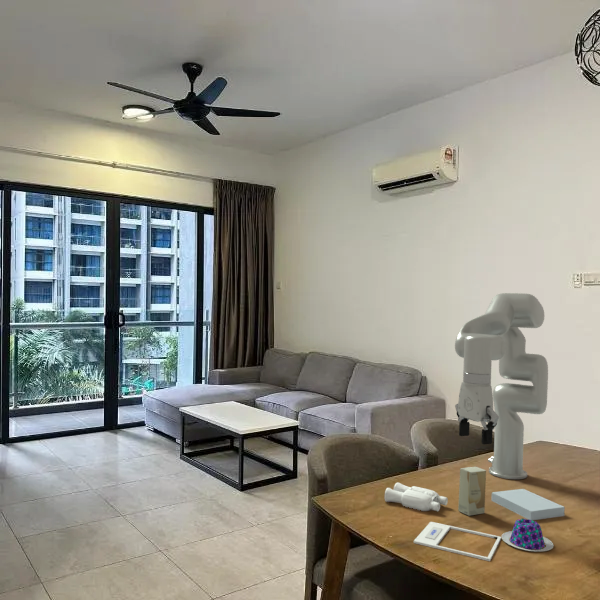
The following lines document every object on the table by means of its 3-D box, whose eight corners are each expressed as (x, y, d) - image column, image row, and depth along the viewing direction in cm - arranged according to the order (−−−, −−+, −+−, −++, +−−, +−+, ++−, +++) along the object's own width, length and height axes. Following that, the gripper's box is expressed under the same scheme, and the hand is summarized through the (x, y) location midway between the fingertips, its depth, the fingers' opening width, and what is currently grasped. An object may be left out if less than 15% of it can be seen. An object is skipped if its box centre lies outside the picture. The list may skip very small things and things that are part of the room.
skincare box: (468, 516, 157) (470, 472, 157) (457, 511, 160) (458, 468, 161) (485, 513, 160) (487, 469, 160) (474, 508, 163) (475, 465, 164)
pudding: (514, 530, 149) (515, 510, 149) (561, 545, 140) (562, 523, 140) (492, 542, 141) (493, 521, 141) (540, 559, 132) (541, 536, 132)
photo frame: (430, 520, 151) (501, 536, 142) (430, 524, 151) (501, 540, 142) (413, 540, 138) (490, 558, 129) (413, 544, 138) (489, 563, 129)
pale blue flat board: (491, 502, 170) (491, 492, 170) (523, 498, 174) (523, 488, 174) (530, 522, 155) (531, 511, 155) (564, 517, 159) (564, 506, 159)
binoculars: (398, 494, 174) (399, 479, 174) (449, 506, 165) (449, 490, 165) (383, 503, 166) (383, 487, 166) (435, 517, 156) (435, 500, 156)
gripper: (447, 375, 167) (445, 433, 167) (487, 383, 151) (485, 448, 151) (468, 375, 170) (466, 432, 169) (509, 383, 153) (507, 446, 153)
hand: (475, 439), depth 160 cm, fingers open, 9 cm apart
